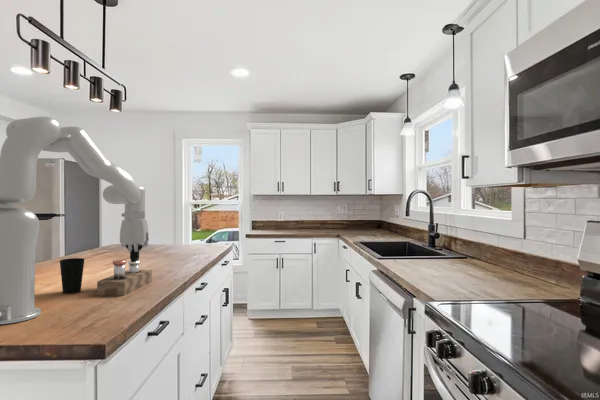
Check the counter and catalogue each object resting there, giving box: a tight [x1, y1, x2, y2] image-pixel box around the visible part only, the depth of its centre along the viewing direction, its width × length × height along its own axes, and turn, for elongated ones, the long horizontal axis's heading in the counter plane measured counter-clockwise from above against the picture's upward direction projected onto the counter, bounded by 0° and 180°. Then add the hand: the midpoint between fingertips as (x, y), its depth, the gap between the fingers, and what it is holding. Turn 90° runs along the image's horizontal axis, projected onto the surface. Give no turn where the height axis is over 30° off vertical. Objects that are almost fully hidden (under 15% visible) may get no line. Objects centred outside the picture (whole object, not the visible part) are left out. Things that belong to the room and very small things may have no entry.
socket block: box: [96, 269, 153, 297], centre depth 135 cm, size 22×10×5 cm, turn 179°
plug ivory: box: [127, 259, 141, 274], centre depth 141 cm, size 5×5×7 cm
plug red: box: [112, 259, 127, 280], centre depth 130 cm, size 5×5×7 cm
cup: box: [59, 257, 85, 295], centre depth 128 cm, size 8×8×12 cm
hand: (134, 260), depth 141 cm, fingers closed
